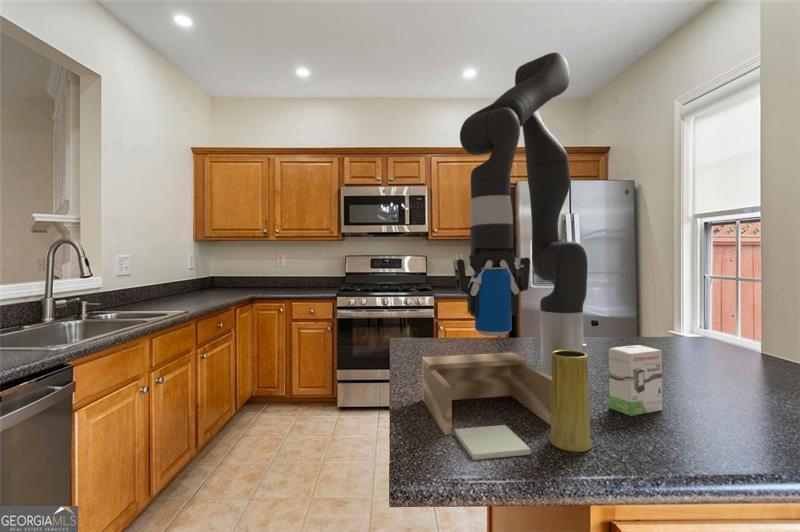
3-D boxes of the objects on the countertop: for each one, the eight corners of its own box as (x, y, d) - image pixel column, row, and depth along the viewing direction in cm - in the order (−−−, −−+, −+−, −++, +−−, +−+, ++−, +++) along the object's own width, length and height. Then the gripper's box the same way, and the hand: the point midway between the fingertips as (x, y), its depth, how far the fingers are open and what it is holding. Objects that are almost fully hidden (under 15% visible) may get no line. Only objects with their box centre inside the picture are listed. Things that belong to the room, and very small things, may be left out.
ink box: (630, 417, 73) (629, 353, 73) (607, 408, 78) (607, 347, 77) (663, 410, 76) (663, 349, 76) (639, 402, 81) (639, 344, 80)
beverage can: (513, 337, 68) (512, 267, 68) (475, 336, 69) (473, 268, 69) (510, 330, 74) (509, 266, 74) (475, 330, 76) (474, 267, 76)
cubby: (513, 393, 87) (513, 352, 87) (557, 425, 70) (556, 374, 70) (422, 399, 83) (422, 357, 83) (445, 434, 66) (444, 381, 66)
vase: (543, 436, 65) (542, 349, 65) (578, 434, 66) (577, 348, 66) (561, 453, 59) (560, 358, 59) (600, 451, 60) (599, 357, 60)
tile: (505, 429, 68) (505, 424, 68) (530, 454, 59) (530, 449, 59) (454, 433, 67) (454, 429, 67) (473, 459, 58) (473, 454, 58)
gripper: (518, 225, 77) (520, 311, 77) (446, 225, 74) (448, 314, 74) (538, 221, 69) (540, 316, 69) (459, 221, 67) (461, 320, 67)
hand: (492, 315), depth 72 cm, fingers closed on beverage can, 6 cm apart
